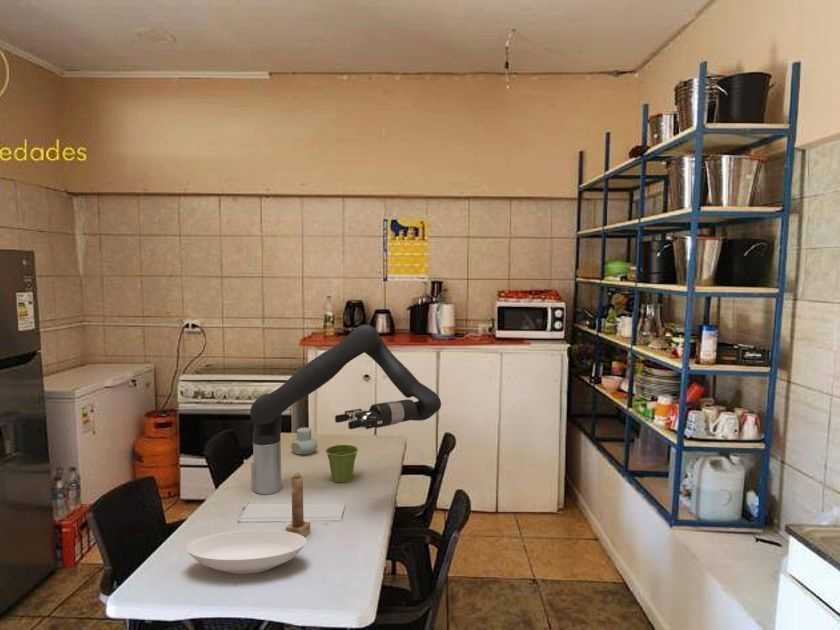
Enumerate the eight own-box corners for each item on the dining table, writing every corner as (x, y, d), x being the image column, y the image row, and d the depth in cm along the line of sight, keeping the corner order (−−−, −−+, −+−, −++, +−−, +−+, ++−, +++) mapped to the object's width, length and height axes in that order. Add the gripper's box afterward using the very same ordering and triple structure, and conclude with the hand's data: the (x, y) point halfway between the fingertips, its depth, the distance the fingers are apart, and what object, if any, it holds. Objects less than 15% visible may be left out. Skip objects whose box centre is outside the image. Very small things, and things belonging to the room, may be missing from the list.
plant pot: (348, 488, 187) (348, 456, 186) (319, 483, 192) (319, 452, 191) (364, 475, 198) (364, 446, 197) (336, 471, 203) (336, 442, 202)
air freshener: (320, 453, 223) (320, 429, 222) (304, 458, 217) (303, 434, 216) (304, 447, 230) (304, 424, 230) (288, 452, 224) (288, 429, 223)
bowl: (177, 586, 129) (176, 562, 129) (198, 553, 144) (197, 531, 144) (302, 581, 131) (301, 557, 131) (310, 549, 146) (310, 528, 146)
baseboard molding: (340, 525, 161) (345, 508, 173) (340, 516, 161) (345, 499, 173) (237, 526, 160) (248, 509, 172) (236, 517, 160) (248, 500, 172)
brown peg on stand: (285, 537, 152) (284, 475, 151) (296, 528, 158) (295, 469, 156) (300, 540, 151) (299, 478, 149) (311, 531, 156) (310, 471, 154)
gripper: (375, 398, 177) (331, 405, 168) (399, 407, 166) (353, 415, 156) (375, 420, 178) (331, 428, 168) (399, 430, 167) (353, 440, 157)
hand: (342, 422), depth 162 cm, fingers open, 8 cm apart
